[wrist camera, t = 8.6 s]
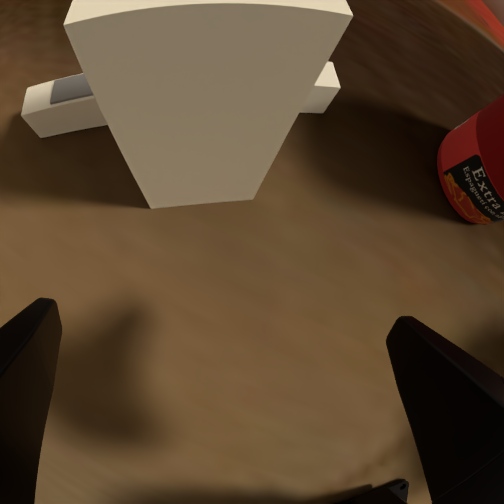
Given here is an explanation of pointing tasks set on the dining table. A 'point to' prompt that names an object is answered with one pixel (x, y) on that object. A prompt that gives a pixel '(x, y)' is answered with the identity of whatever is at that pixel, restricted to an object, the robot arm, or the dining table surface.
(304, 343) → the dining table surface
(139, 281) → the dining table surface
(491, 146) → the canned food
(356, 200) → the dining table surface
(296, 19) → the carton
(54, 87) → the rail
